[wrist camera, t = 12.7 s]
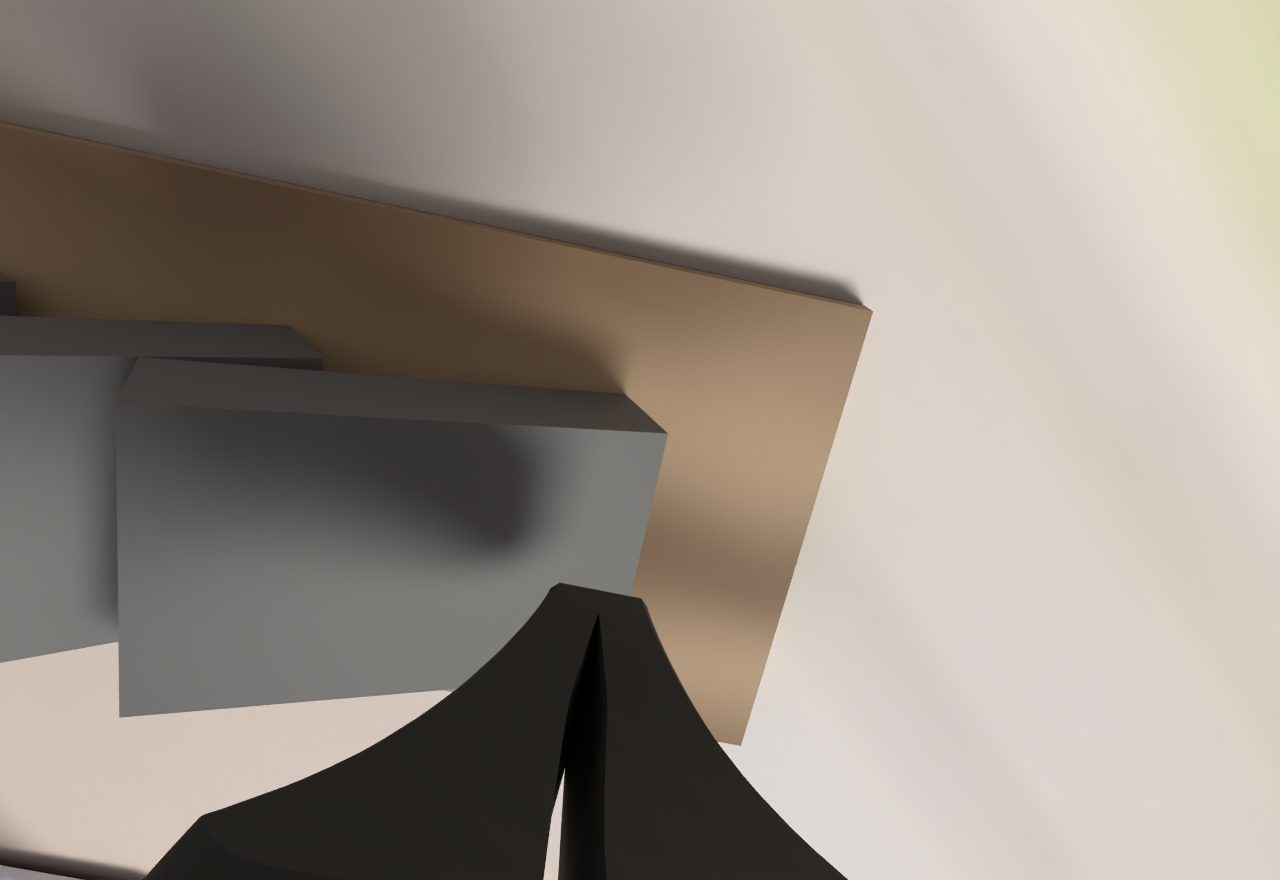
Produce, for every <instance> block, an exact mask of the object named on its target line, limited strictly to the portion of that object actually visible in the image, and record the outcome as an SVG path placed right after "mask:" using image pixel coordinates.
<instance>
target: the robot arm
mask: <svg viewBox="0 0 1280 880" xmlns="http://www.w3.org/2000/svg"><path fill="white" fill-rule="evenodd" d="M564 769H565V775H564V791H563V807H562V823H561V840H560V857H559V873H558V880H848V879H847V878H845V877H844V876H843V875H842V874H841V873H840V872H839V871H837V870H836V869H835V868H834V867H833V866H832V865H831V864H830V863H828V862H827V861H826V860H825V859H824V858H823V857H822V856H820V855H819V854H818V853H817V852H816V851H815V850H814V849H813V848H812V847H810V846H809V845H808V844H807V843H806V842H805V841H804V840H803V839H802V838H801V837H800V836H799V835H798V834H797V833H796V832H795V831H794V830H793V829H792V828H791V827H790V826H789V825H788V824H787V823H786V822H785V821H784V820H783V819H782V818H781V817H780V816H779V815H778V814H777V813H776V812H775V811H774V809H773V808H772V807H771V806H770V805H769V804H768V803H767V802H766V801H765V800H764V799H763V798H762V797H761V796H760V795H759V793H758V792H757V791H756V790H755V789H754V788H753V787H752V785H751V784H750V783H749V782H748V781H747V780H746V778H745V777H744V776H743V775H742V774H741V772H740V771H739V770H738V768H737V767H736V766H735V765H734V763H733V762H732V761H731V759H730V758H729V757H728V756H727V754H726V753H725V752H724V750H723V749H722V748H721V747H720V745H719V744H718V742H717V741H716V739H715V738H714V736H713V735H712V733H711V732H710V730H709V729H708V727H707V726H706V724H705V723H704V721H703V719H702V718H701V716H700V715H699V713H698V711H697V710H696V708H695V707H694V705H693V703H692V701H691V700H690V698H689V696H688V694H687V693H686V691H685V689H684V687H683V685H682V683H681V681H680V680H679V678H678V676H677V674H676V672H675V670H674V668H673V666H672V664H671V662H670V660H669V658H668V656H667V654H666V652H665V650H664V648H663V645H662V643H661V641H660V639H659V637H658V634H657V632H656V629H655V627H654V625H653V622H652V619H651V617H650V614H649V611H648V608H647V606H646V604H645V603H644V601H643V600H642V598H637V597H632V596H627V595H622V594H616V593H611V592H606V591H601V590H596V589H591V588H586V587H580V586H575V585H570V584H565V583H558V584H556V585H554V586H553V587H551V588H550V590H549V592H548V594H547V595H546V597H545V599H544V600H543V602H542V603H541V604H540V606H539V607H538V608H537V610H536V611H535V612H534V613H533V615H532V616H531V617H530V618H529V619H528V621H527V622H526V623H525V624H524V625H523V626H522V628H521V629H520V630H519V631H518V632H517V633H516V634H515V635H514V636H513V637H512V638H511V639H510V640H509V641H508V642H507V644H506V645H505V646H504V647H503V648H502V649H501V650H500V651H499V652H498V653H497V654H496V655H495V656H494V657H492V658H491V659H490V660H489V661H488V662H487V663H486V664H485V665H484V666H482V667H481V668H480V669H479V670H478V671H477V672H476V673H475V674H474V675H473V676H471V677H470V678H469V679H468V680H467V681H466V682H465V683H463V684H462V685H461V686H460V687H458V688H457V689H456V690H455V691H453V692H452V693H451V694H450V695H448V696H447V697H446V698H444V699H443V700H442V701H440V702H439V703H438V704H436V705H435V706H433V707H432V708H431V709H429V710H428V711H426V712H425V713H424V714H422V715H421V716H419V717H418V718H416V719H415V720H413V721H412V722H410V723H408V724H407V725H405V726H404V727H402V728H400V729H399V730H397V731H396V732H394V733H392V734H391V735H389V736H388V737H386V738H385V739H383V740H381V741H379V742H378V743H376V744H374V745H372V746H371V747H369V748H367V749H365V750H363V751H362V752H360V753H358V754H356V755H354V756H352V757H350V758H348V759H346V760H344V761H341V762H339V763H337V764H335V765H333V766H331V767H329V768H327V769H325V770H322V771H320V772H318V773H316V774H313V775H311V776H309V777H307V778H304V779H302V780H299V781H297V782H295V783H292V784H290V785H287V786H285V787H282V788H279V789H276V790H274V791H271V792H268V793H265V794H262V795H260V796H257V797H254V798H251V799H249V800H246V801H243V802H240V803H237V804H235V805H232V806H229V807H226V808H223V809H220V810H217V811H214V812H211V813H208V814H205V815H203V816H201V817H200V818H199V819H198V820H197V821H196V822H195V823H194V824H193V825H192V826H191V827H190V828H189V829H188V830H187V832H186V833H185V834H184V835H183V836H182V837H181V838H180V839H179V840H178V841H177V842H176V844H175V845H174V846H173V847H172V848H171V849H170V850H169V851H168V852H167V853H166V854H165V856H164V857H163V858H162V859H161V860H160V861H159V862H158V863H157V864H156V866H155V867H154V868H153V869H152V870H151V871H150V872H149V873H148V874H147V876H146V877H145V878H144V879H143V880H543V878H544V870H545V862H546V854H547V846H548V838H549V831H550V823H551V816H552V813H553V809H554V806H555V802H556V798H557V795H558V791H559V788H560V784H561V780H562V777H563V773H564ZM0 880H83V879H77V878H71V877H66V876H60V875H54V874H48V873H43V872H37V871H31V870H25V869H20V868H14V867H8V866H2V865H0Z"/></svg>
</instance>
